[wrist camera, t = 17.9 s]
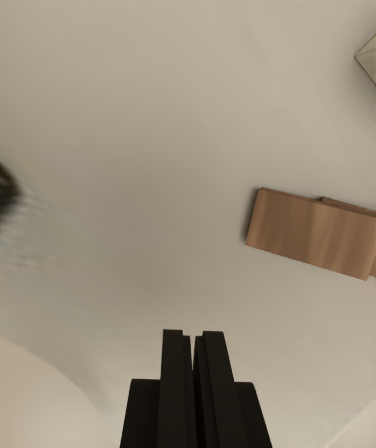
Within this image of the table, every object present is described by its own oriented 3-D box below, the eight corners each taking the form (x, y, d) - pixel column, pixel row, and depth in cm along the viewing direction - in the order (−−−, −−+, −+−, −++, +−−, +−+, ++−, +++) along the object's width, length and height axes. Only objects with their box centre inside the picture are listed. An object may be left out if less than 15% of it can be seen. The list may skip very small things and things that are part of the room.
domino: (245, 244, 31) (366, 280, 28) (258, 189, 30) (388, 220, 26) (249, 239, 33) (364, 273, 30) (262, 187, 31) (384, 216, 28)
